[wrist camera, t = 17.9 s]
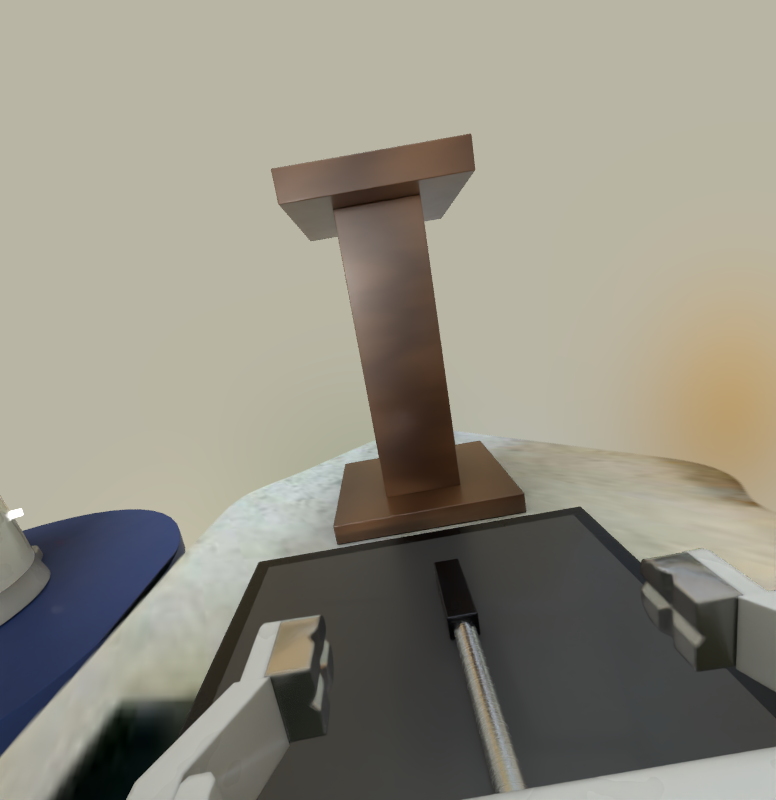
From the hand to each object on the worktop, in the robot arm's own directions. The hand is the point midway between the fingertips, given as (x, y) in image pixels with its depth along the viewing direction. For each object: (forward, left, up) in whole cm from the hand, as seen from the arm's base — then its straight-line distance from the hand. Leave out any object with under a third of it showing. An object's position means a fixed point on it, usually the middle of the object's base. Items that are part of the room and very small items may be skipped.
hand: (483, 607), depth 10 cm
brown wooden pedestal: (0, +23, -8) cm, 24 cm away
